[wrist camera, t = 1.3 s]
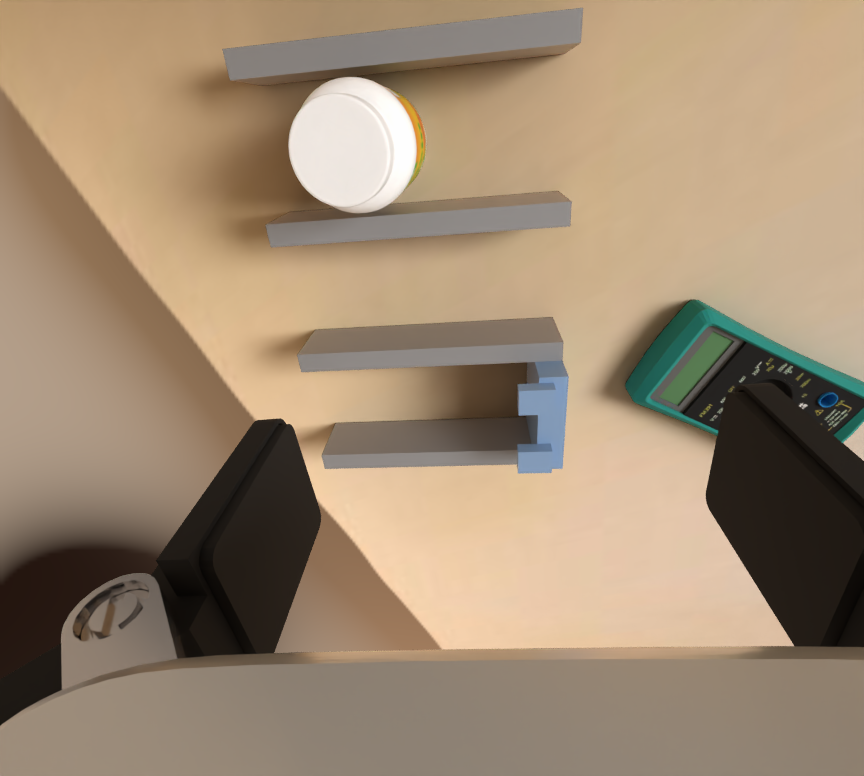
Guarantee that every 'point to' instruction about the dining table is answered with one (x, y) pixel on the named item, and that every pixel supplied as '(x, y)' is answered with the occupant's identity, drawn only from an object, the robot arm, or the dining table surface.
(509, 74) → the dining table surface
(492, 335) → the grey parallel walls
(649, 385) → the digital multimeter
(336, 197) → the supplement bottle
